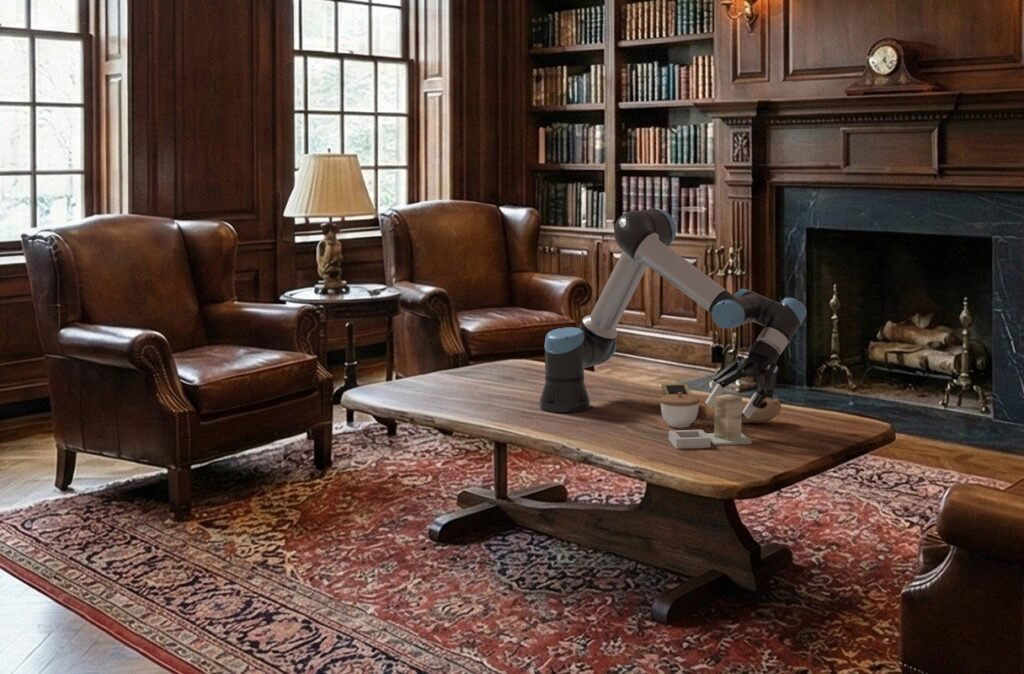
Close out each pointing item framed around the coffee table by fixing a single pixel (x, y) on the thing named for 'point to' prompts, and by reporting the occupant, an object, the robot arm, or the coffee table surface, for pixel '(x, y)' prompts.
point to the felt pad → (731, 442)
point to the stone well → (689, 439)
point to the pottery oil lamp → (764, 411)
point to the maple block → (728, 417)
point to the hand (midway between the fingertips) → (726, 410)
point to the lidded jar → (679, 409)
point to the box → (675, 389)
